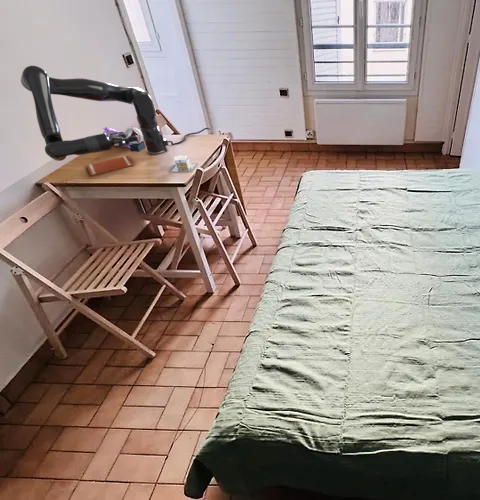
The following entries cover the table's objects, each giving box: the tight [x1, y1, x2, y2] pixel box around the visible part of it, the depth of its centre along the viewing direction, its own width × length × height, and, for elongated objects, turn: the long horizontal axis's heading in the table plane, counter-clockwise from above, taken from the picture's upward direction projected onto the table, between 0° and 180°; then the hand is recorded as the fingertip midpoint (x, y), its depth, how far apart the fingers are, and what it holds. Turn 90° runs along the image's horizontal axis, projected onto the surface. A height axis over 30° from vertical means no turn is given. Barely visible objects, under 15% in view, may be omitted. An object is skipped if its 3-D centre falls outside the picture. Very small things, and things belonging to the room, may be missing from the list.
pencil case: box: [102, 126, 139, 149], centre depth 219 cm, size 22×9×10 cm, turn 63°
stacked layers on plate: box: [170, 154, 196, 173], centre depth 195 cm, size 10×9×6 cm
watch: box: [124, 126, 147, 153], centre depth 184 cm, size 6×8×11 cm
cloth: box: [86, 155, 135, 177], centre depth 199 cm, size 20×14×1 cm
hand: (136, 135), depth 184 cm, fingers closed on watch, 6 cm apart
